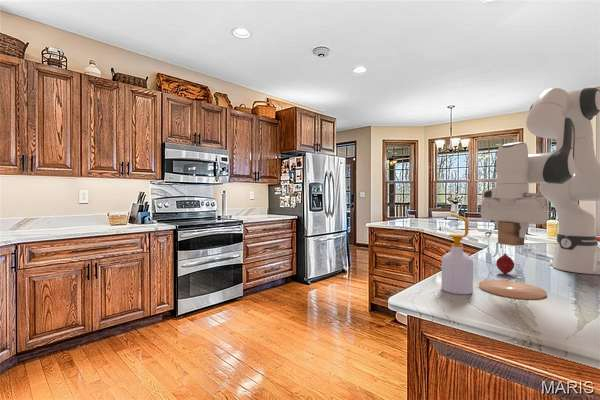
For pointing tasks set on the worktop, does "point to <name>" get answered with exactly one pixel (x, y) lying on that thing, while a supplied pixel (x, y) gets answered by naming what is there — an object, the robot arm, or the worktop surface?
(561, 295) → the worktop surface
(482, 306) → the worktop surface
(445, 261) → the soap bottle
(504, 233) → the block
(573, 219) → the robot arm
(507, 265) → the onion
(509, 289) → the plate
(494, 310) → the worktop surface
